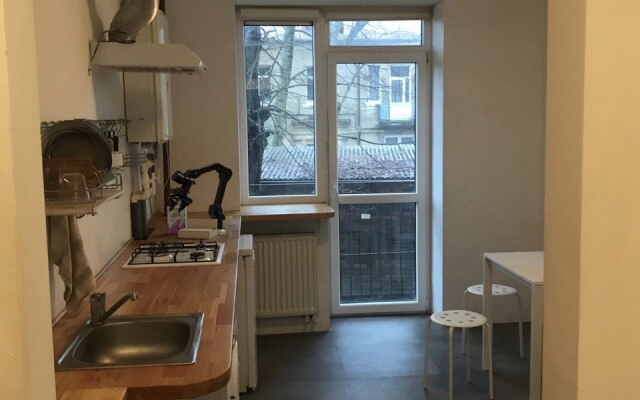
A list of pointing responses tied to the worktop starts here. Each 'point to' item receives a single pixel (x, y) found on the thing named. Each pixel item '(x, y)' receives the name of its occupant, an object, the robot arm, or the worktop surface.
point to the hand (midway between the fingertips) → (174, 211)
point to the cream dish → (221, 231)
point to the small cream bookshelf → (197, 233)
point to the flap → (202, 223)
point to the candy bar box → (176, 220)
